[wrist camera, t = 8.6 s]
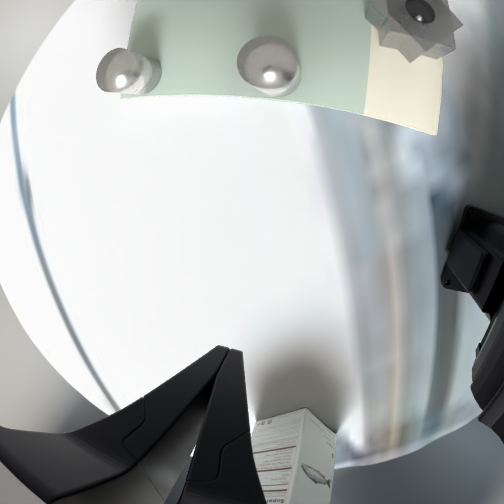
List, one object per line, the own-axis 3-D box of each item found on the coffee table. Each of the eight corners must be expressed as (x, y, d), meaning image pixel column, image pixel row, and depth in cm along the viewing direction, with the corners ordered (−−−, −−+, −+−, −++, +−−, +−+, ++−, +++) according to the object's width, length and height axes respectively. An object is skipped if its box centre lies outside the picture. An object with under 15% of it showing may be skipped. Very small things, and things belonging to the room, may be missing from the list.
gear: (439, 5, 10) (455, -11, 7) (448, 74, 12) (469, 65, 9) (361, -14, 11) (366, -36, 8) (367, 55, 13) (375, 40, 10)
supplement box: (338, 434, 28) (329, 526, 16) (287, 446, 31) (268, 528, 19) (308, 405, 26) (289, 513, 15) (253, 419, 29) (223, 511, 18)
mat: (434, -17, 9) (437, -21, 8) (432, 135, 14) (436, 135, 14) (152, -33, 13) (148, -37, 12) (127, 98, 18) (120, 98, 17)
